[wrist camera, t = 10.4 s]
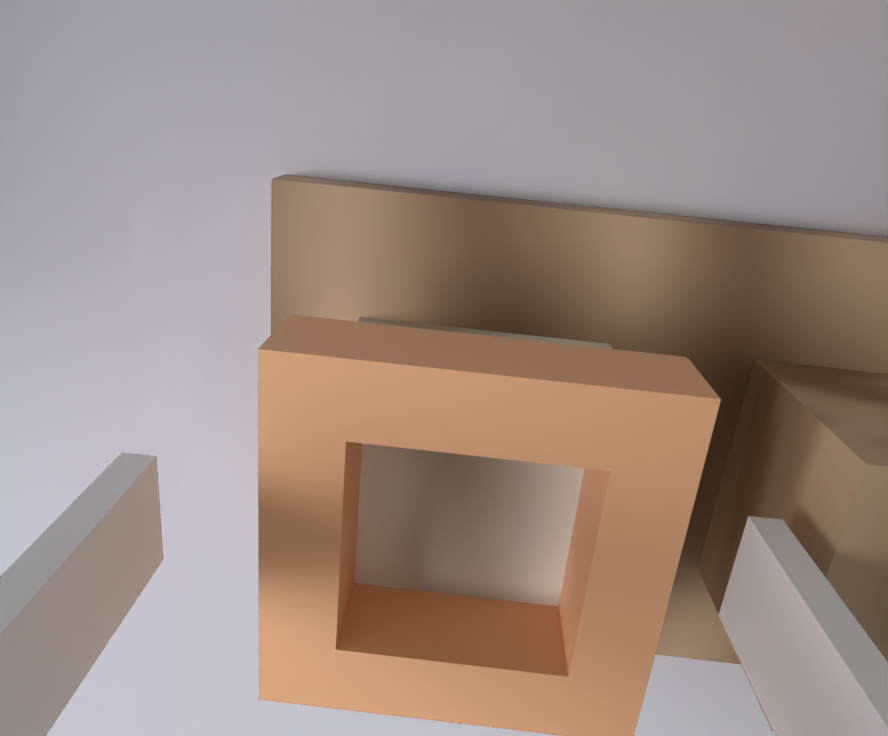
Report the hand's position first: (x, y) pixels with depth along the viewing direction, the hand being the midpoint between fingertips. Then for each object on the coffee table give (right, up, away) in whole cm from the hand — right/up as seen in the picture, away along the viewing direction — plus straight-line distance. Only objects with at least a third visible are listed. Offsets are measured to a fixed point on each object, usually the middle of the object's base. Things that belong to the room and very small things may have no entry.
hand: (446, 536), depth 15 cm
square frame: (0, 0, +2) cm, 2 cm away
